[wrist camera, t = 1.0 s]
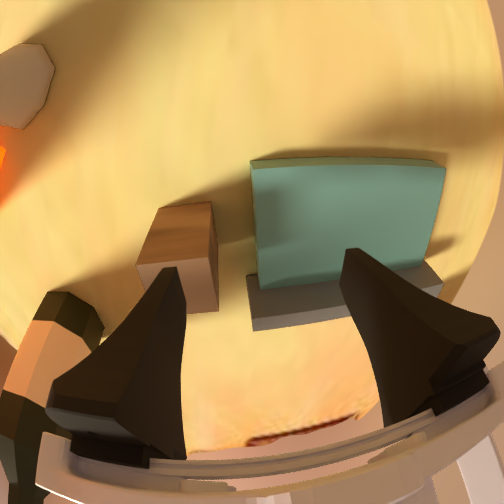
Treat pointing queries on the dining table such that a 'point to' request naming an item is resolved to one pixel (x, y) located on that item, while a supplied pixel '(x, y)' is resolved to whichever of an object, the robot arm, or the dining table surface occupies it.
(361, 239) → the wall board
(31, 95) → the flask
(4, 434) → the wine bottle
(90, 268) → the dining table surface
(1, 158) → the orange juice
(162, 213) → the walnut block
